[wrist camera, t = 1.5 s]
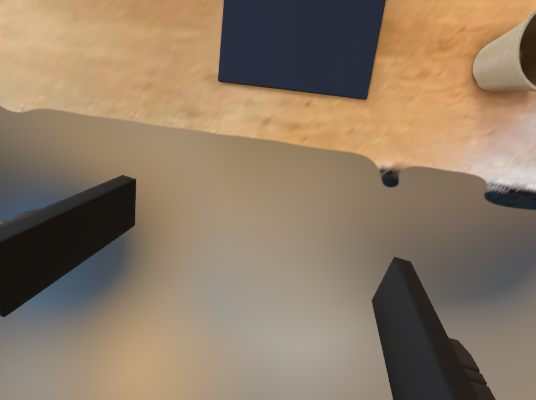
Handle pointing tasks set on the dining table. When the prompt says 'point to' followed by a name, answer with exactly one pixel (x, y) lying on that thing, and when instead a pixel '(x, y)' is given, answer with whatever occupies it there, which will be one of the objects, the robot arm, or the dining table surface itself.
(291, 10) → the placemat
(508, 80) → the flower pot
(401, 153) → the dining table surface
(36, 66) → the dining table surface
